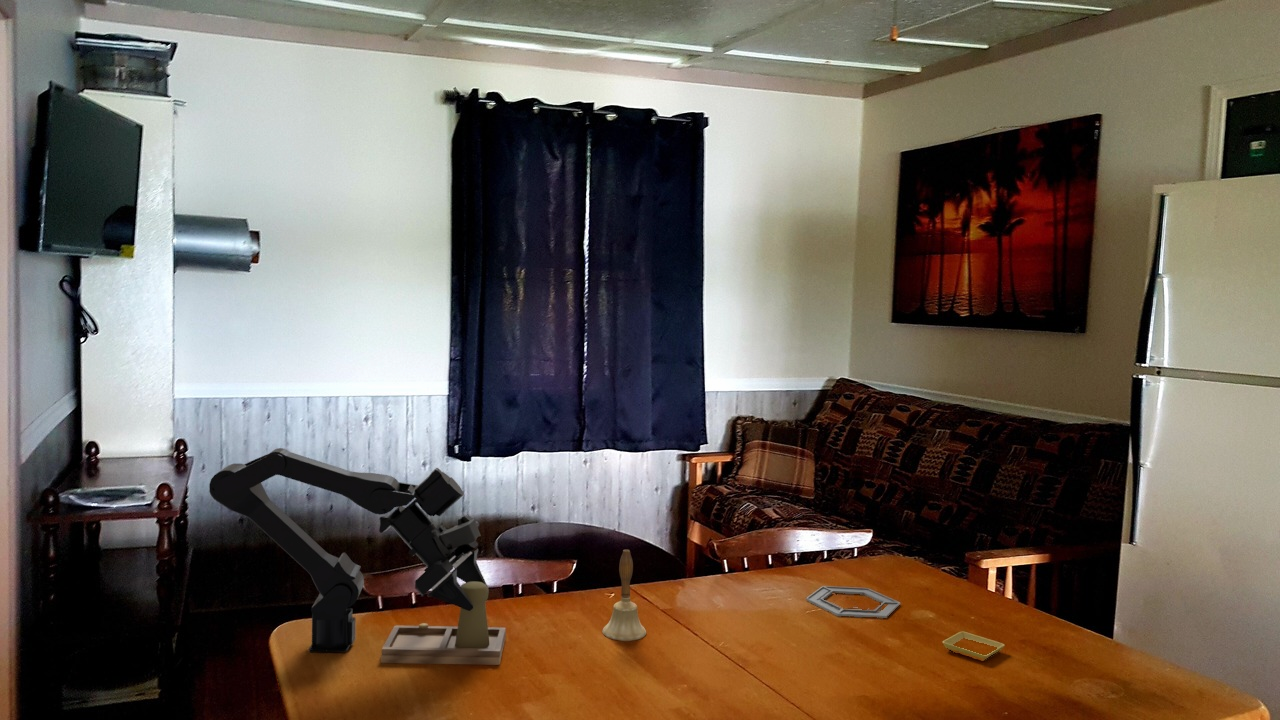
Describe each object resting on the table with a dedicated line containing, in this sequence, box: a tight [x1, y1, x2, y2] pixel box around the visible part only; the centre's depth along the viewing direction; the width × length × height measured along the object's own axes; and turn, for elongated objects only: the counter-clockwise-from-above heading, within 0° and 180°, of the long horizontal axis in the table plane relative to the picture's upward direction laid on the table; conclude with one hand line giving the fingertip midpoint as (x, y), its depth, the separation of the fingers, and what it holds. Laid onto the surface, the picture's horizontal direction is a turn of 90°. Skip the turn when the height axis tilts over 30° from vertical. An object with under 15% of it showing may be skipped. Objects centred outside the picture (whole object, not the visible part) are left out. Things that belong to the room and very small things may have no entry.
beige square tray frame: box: [942, 631, 1005, 660], centre depth 177 cm, size 9×9×2 cm
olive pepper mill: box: [455, 581, 490, 649], centre depth 167 cm, size 6×6×11 cm
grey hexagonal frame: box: [805, 585, 901, 619], centre depth 202 cm, size 17×20×1 cm
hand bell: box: [601, 549, 647, 642], centre depth 179 cm, size 8×8×16 cm
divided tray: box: [380, 622, 507, 666], centre depth 168 cm, size 20×12×3 cm, turn 93°
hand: (479, 600), depth 167 cm, fingers open, 9 cm apart
